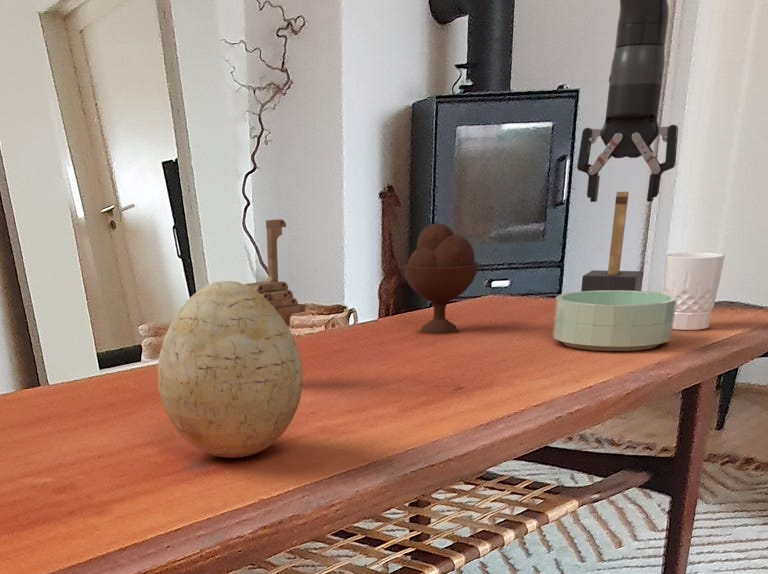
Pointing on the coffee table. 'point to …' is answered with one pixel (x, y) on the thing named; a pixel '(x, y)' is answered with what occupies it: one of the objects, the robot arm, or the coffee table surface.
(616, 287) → the utensil holder
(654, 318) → the mixing bowl
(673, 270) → the white cup
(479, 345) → the coffee table surface
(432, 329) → the ice cream bowl
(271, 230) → the wooden hook post
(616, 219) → the stirring stick
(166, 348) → the fossilized egg
